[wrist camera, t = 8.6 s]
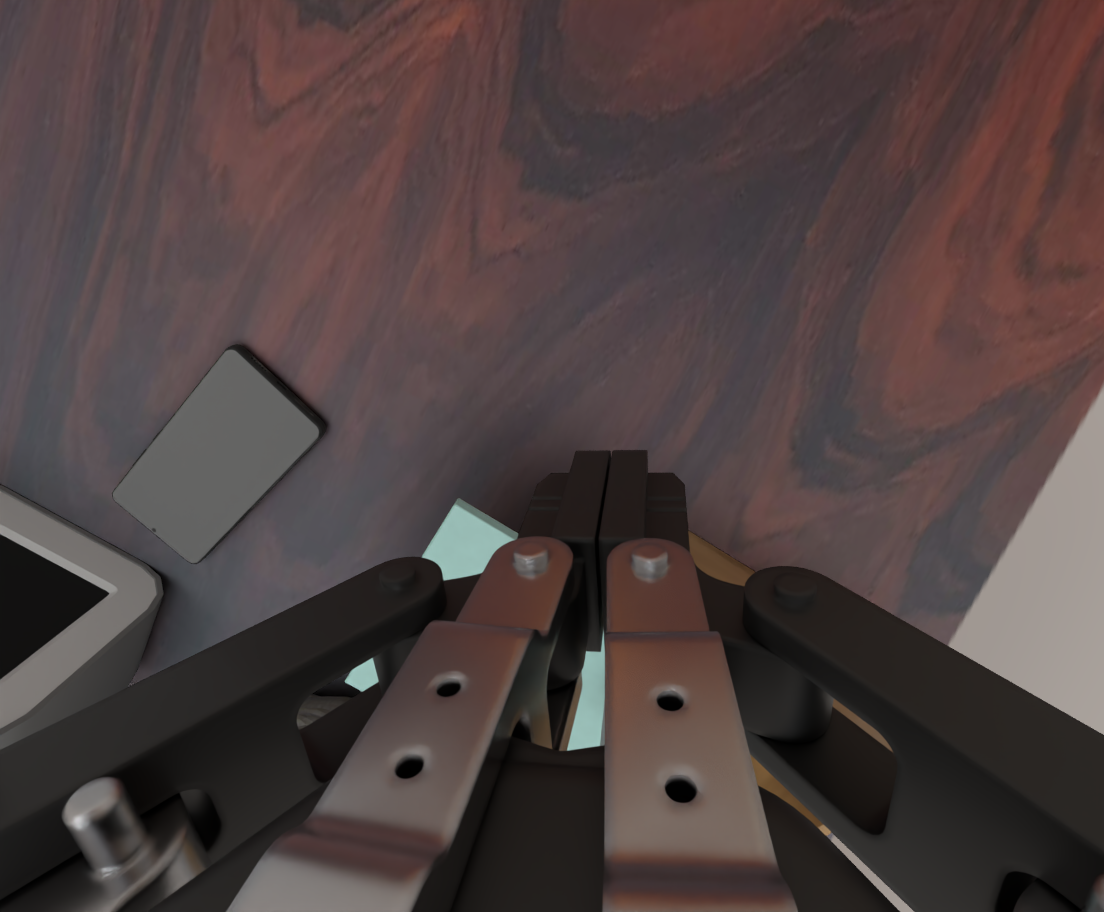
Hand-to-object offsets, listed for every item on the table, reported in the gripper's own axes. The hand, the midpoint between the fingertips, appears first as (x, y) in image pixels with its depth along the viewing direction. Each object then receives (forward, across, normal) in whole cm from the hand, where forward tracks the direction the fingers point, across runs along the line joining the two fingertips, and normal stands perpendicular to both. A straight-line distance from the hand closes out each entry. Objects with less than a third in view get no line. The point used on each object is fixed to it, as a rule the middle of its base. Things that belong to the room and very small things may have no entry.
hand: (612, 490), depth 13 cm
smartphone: (+19, +26, +8) cm, 33 cm away
